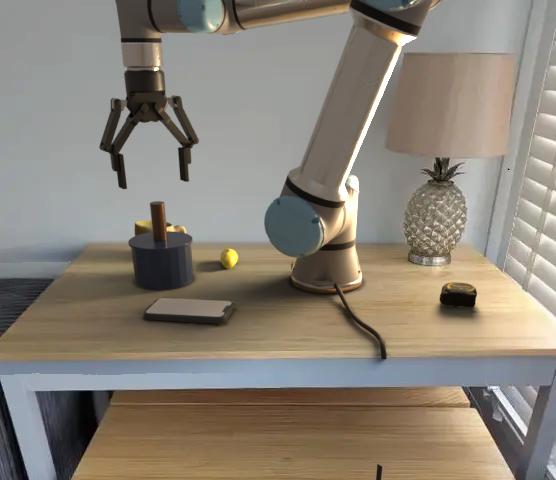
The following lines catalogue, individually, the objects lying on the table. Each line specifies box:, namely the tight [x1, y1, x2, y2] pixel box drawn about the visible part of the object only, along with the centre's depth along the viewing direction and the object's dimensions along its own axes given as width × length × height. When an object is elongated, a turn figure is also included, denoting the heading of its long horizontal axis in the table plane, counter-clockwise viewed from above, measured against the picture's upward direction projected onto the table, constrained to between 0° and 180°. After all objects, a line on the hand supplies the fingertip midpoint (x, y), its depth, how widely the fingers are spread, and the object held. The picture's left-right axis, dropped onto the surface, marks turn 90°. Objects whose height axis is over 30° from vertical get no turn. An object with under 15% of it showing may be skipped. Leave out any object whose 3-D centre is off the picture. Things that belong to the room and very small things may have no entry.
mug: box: [134, 219, 187, 236], centre depth 149 cm, size 12×10×10 cm
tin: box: [130, 243, 194, 291], centre depth 133 cm, size 13×13×8 cm
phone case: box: [143, 297, 235, 325], centre depth 118 cm, size 9×2×16 cm
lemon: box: [220, 247, 239, 269], centre depth 143 cm, size 4×8×4 cm, turn 179°
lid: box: [127, 200, 193, 252], centre depth 130 cm, size 14×14×9 cm
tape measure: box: [439, 281, 478, 309], centre depth 121 cm, size 7×7×4 cm
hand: (154, 184), depth 126 cm, fingers open, 13 cm apart
